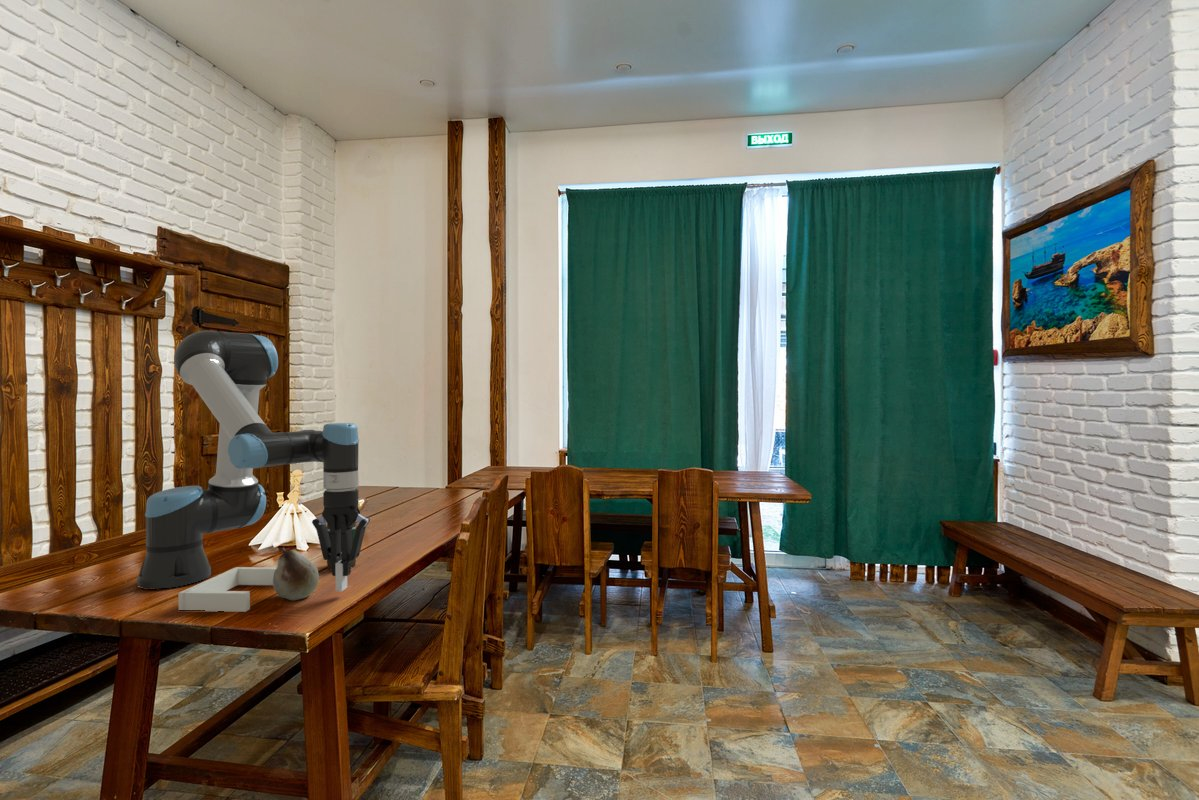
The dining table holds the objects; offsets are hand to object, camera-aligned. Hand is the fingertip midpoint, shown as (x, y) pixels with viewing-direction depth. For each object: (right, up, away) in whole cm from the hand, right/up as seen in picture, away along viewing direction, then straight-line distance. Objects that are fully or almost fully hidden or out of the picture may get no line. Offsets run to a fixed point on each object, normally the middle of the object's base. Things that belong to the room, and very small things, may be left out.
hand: (341, 589), depth 134 cm
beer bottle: (-11, -2, +24) cm, 27 cm away
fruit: (-11, -2, 0) cm, 11 cm away
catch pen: (-24, -2, +1) cm, 24 cm away
